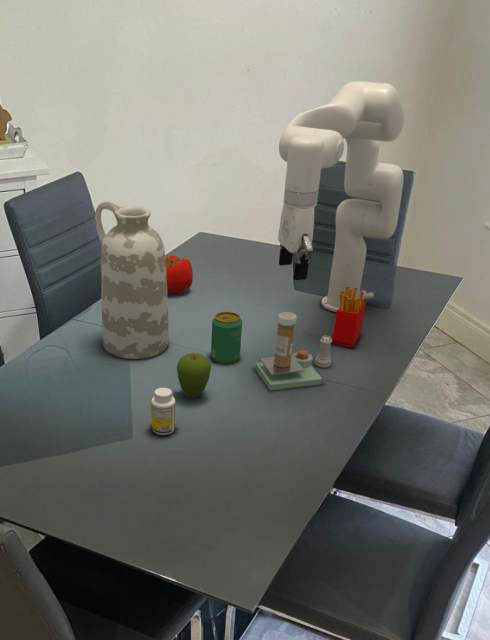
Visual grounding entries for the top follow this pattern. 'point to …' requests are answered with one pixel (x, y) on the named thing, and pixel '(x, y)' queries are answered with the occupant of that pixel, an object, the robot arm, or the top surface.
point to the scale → (291, 375)
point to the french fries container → (348, 318)
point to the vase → (133, 284)
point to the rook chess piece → (324, 353)
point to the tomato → (178, 274)
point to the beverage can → (226, 337)
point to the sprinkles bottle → (284, 339)
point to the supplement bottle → (163, 411)
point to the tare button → (302, 354)
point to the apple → (193, 373)
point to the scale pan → (277, 370)
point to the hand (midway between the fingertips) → (292, 271)
